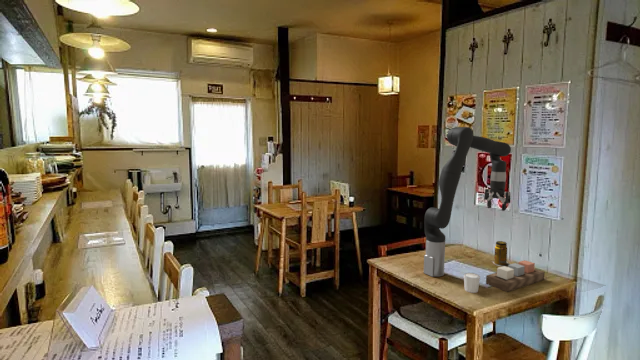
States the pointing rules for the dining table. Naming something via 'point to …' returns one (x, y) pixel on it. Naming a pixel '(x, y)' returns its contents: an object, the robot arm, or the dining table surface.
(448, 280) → the dining table surface
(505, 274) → the cream block
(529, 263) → the terracotta key
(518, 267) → the slate key
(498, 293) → the dining table surface
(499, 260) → the condiment
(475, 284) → the white cup
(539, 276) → the brown wooden tray
